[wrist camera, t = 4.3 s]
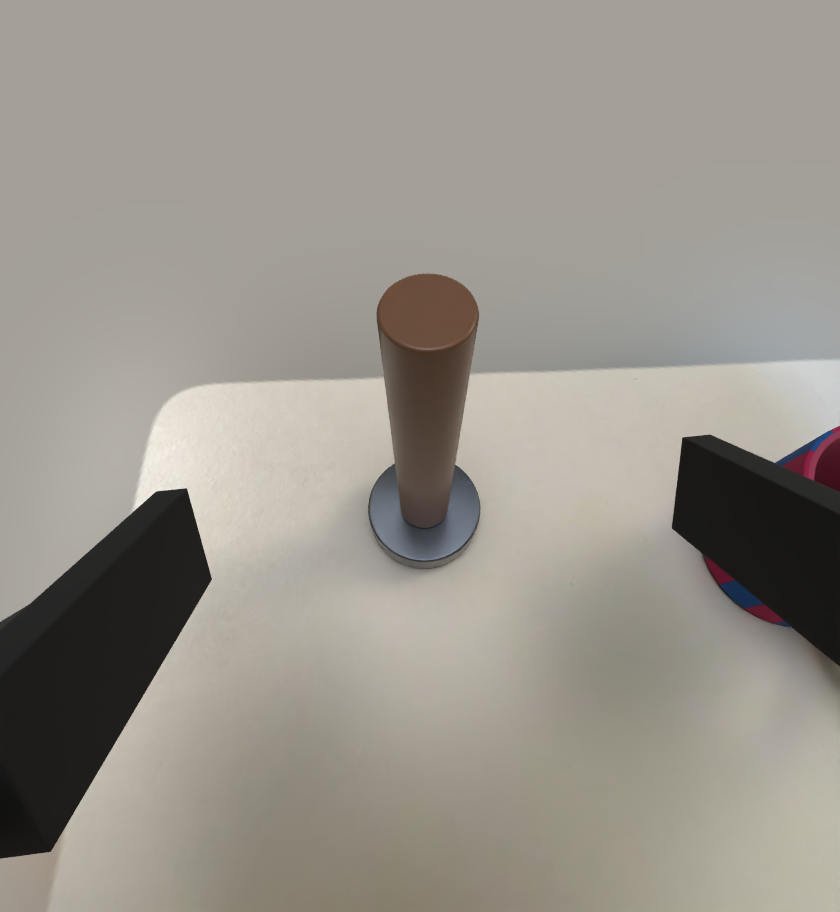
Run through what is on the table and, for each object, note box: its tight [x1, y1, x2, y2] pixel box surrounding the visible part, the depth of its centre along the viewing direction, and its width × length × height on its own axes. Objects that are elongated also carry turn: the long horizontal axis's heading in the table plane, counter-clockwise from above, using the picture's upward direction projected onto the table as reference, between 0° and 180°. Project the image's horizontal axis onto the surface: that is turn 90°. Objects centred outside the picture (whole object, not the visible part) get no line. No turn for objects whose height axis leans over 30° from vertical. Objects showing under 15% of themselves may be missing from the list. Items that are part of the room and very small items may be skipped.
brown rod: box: [368, 274, 480, 569], centre depth 16 cm, size 5×5×14 cm
